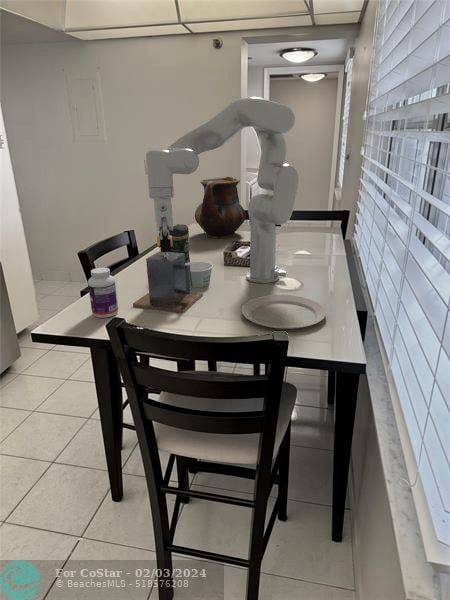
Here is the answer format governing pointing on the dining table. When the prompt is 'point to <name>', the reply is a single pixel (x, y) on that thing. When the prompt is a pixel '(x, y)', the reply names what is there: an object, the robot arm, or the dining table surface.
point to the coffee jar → (180, 240)
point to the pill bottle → (102, 293)
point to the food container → (200, 273)
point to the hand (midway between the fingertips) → (165, 248)
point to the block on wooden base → (168, 284)
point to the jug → (220, 208)
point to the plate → (288, 299)
